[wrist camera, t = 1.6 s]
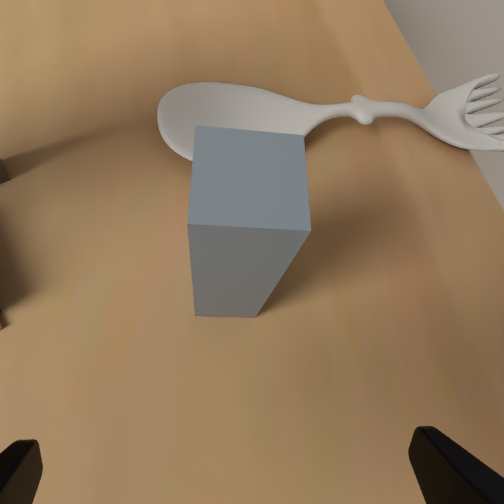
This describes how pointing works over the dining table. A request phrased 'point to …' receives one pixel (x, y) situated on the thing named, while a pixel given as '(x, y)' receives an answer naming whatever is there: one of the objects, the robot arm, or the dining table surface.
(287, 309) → the dining table surface
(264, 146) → the blue-grey rectangular block
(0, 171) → the overhang seat
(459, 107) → the spoon
